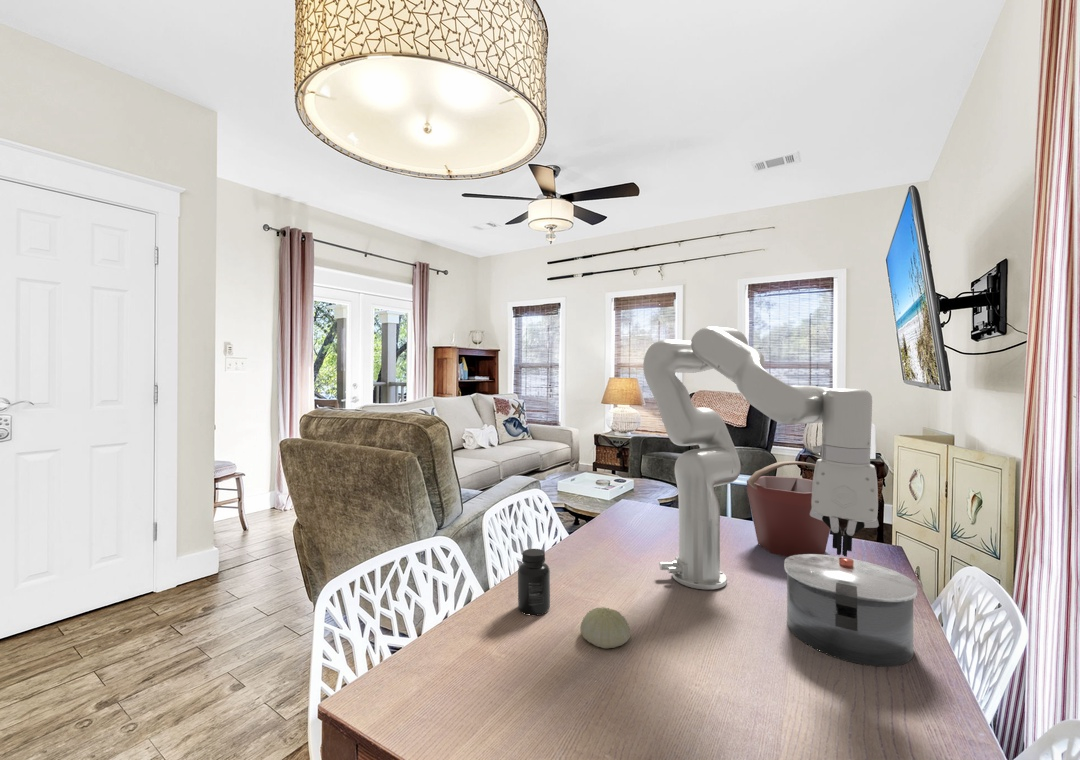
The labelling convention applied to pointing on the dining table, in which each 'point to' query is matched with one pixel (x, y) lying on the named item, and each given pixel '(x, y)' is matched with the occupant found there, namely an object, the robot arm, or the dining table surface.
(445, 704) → the dining table surface
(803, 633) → the cooker pot
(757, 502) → the bucket
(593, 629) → the sea urchin shell
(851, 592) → the cooker lid
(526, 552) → the supplement bottle
